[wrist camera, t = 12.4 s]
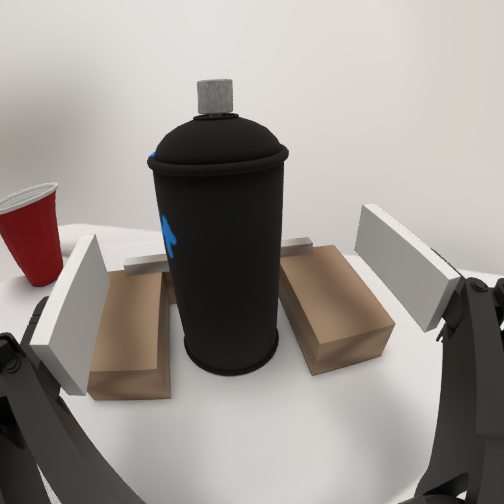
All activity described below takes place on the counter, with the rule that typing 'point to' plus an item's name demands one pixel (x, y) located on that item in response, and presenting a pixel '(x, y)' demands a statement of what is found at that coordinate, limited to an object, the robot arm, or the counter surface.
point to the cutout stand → (291, 296)
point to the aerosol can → (222, 231)
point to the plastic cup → (33, 232)
